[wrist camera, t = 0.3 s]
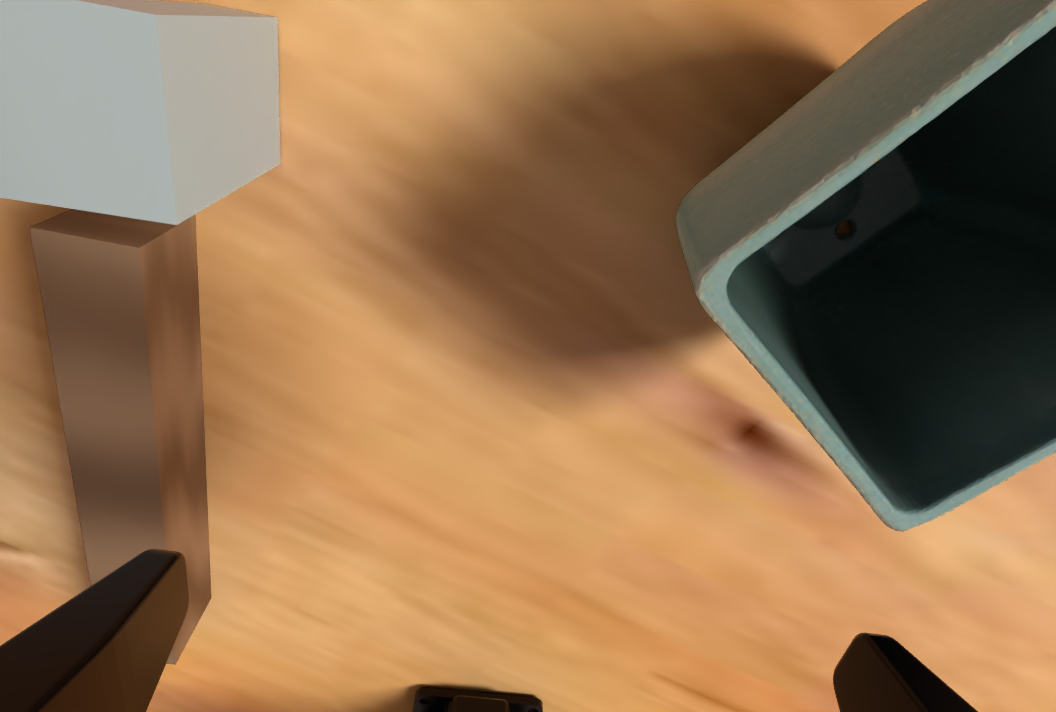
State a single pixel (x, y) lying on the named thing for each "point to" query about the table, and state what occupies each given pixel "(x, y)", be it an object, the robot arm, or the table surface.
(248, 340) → the table surface
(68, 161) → the grey arch block
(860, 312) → the flower pot
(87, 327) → the brown wooden bar
